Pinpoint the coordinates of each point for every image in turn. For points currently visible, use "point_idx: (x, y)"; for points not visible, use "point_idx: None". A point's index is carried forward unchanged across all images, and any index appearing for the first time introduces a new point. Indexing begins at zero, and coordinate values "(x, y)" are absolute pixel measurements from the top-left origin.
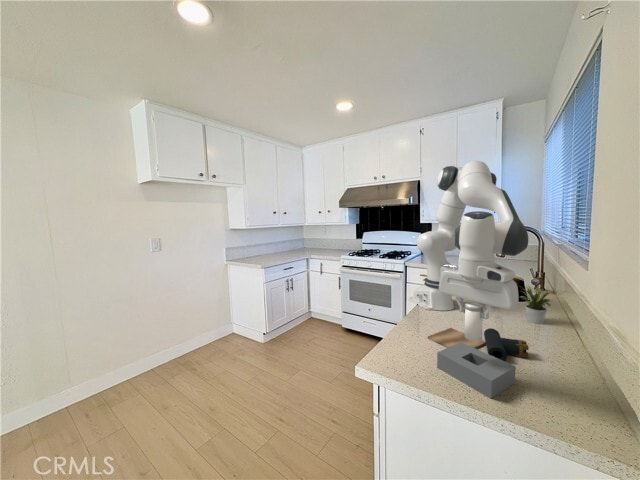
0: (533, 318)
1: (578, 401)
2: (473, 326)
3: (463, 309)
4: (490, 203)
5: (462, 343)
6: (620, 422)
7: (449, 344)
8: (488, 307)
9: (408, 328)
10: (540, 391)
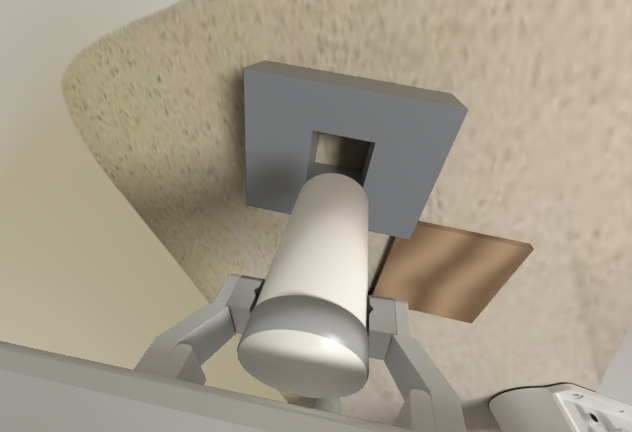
0: (327, 404)
1: (174, 201)
2: (305, 218)
3: (379, 315)
4: None
5: (402, 234)
6: (120, 185)
7: (450, 242)
8: (165, 349)
9: (622, 266)
10: (221, 186)
